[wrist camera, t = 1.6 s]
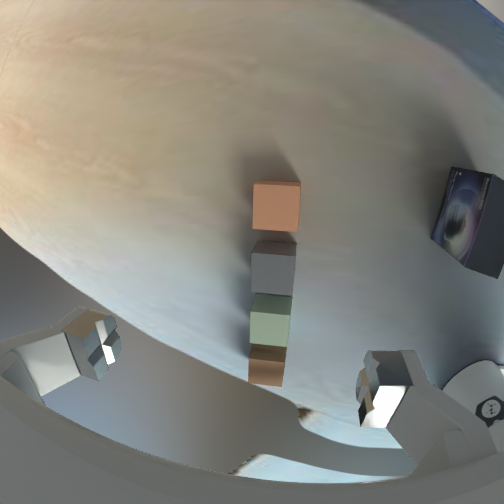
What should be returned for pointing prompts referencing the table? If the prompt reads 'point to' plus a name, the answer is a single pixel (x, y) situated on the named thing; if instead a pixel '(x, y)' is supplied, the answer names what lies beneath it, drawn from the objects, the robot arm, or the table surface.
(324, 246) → the table surface
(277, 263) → the charcoal block
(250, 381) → the walnut block
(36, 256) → the table surface
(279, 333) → the sage block
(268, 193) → the terracotta block
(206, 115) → the table surface
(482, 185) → the small box
